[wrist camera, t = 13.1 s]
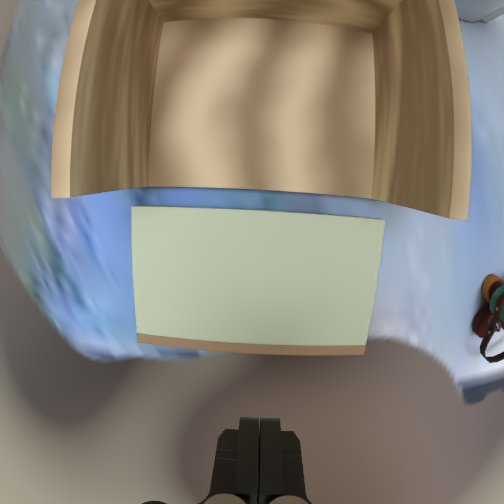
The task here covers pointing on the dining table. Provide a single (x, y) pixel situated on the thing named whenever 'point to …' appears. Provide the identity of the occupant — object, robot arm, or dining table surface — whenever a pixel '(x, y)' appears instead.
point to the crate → (267, 99)
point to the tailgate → (254, 279)
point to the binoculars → (491, 314)
